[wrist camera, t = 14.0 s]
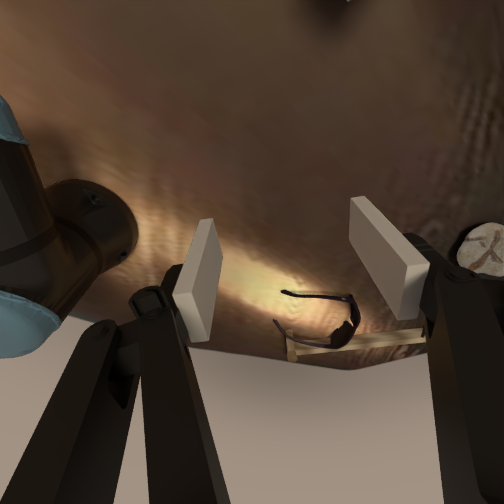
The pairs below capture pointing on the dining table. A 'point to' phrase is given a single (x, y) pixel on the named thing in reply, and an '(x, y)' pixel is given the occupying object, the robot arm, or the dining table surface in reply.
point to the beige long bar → (355, 342)
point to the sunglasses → (339, 335)
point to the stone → (483, 250)
